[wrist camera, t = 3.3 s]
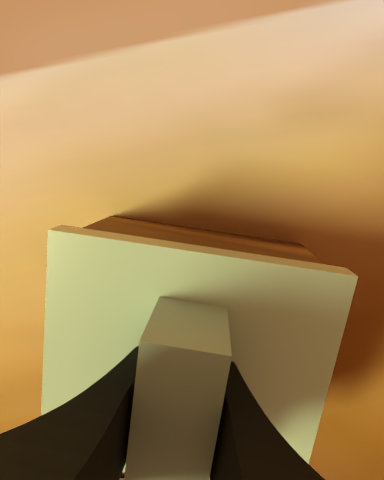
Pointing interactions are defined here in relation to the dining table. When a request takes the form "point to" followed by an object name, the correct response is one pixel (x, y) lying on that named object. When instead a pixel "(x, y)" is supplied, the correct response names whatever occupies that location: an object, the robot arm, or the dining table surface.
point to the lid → (190, 339)
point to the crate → (205, 238)
